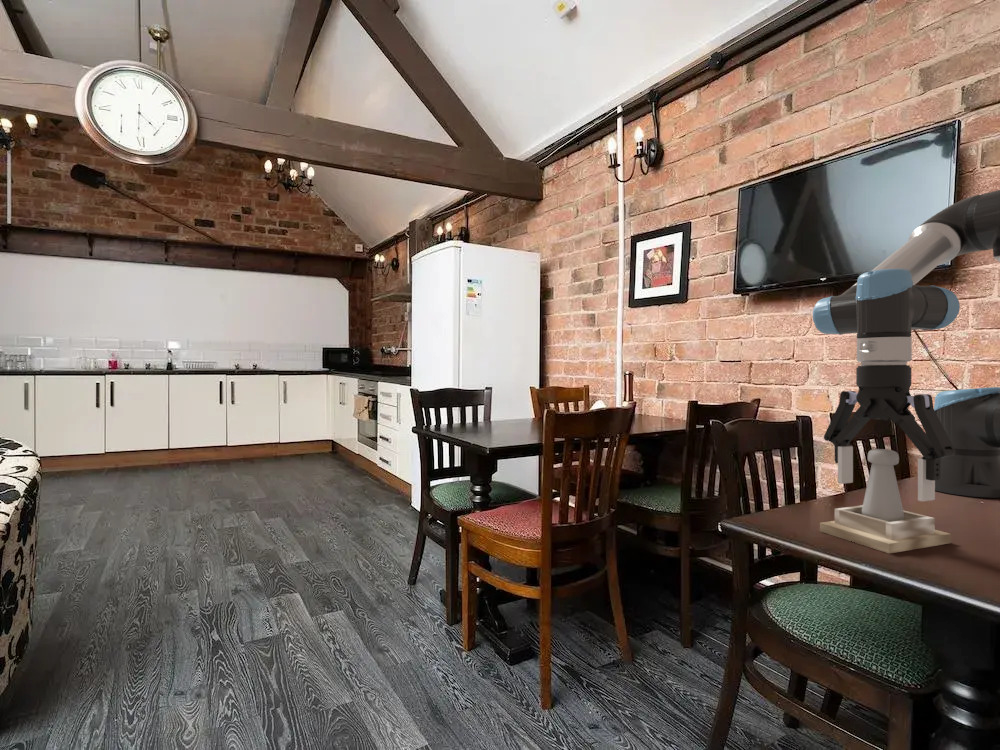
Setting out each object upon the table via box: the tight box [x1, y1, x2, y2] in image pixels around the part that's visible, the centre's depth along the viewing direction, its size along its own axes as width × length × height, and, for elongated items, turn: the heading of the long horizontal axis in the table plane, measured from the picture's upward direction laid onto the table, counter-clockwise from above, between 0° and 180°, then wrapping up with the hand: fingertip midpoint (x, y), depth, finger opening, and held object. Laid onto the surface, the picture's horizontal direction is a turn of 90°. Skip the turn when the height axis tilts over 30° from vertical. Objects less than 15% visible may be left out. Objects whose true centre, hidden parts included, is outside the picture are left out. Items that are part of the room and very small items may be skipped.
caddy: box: [819, 504, 952, 554], centre depth 91 cm, size 14×12×4 cm
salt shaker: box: [862, 448, 905, 522], centre depth 91 cm, size 6×6×13 cm
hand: (883, 491), depth 91 cm, fingers open, 13 cm apart
